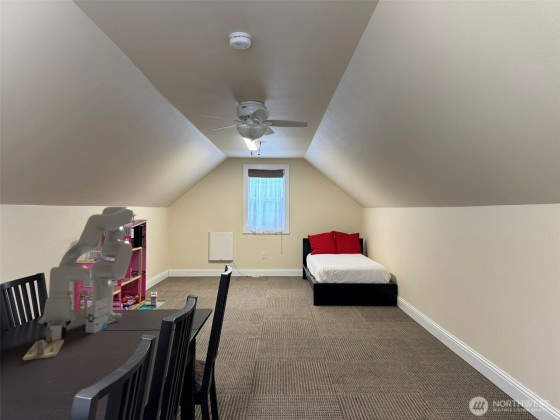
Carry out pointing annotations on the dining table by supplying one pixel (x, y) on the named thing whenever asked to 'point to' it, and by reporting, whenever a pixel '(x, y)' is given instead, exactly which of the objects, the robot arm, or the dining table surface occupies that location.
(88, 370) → the dining table surface
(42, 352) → the cradle
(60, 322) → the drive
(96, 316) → the ink box
